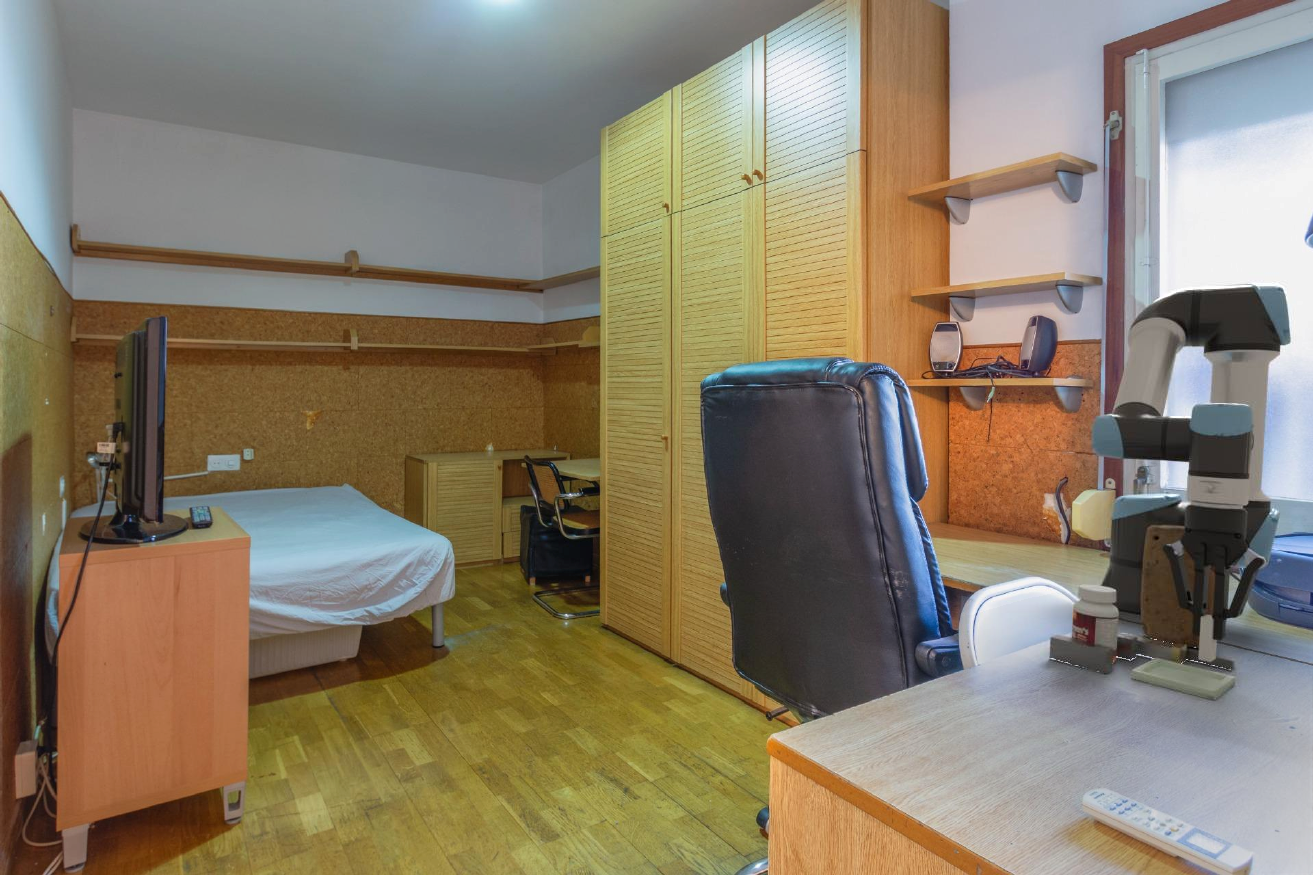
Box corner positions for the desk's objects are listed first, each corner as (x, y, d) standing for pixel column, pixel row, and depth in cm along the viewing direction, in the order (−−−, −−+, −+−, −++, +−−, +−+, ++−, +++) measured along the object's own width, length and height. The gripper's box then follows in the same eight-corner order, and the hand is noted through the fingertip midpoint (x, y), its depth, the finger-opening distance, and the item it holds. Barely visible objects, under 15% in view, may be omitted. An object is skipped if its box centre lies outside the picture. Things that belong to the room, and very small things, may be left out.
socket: (1082, 645, 125) (1083, 624, 125) (1136, 658, 119) (1137, 636, 119) (1049, 659, 117) (1050, 637, 117) (1105, 674, 111) (1106, 650, 111)
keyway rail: (1125, 643, 126) (1125, 635, 126) (1234, 669, 115) (1234, 659, 115) (1122, 645, 126) (1123, 636, 126) (1232, 670, 114) (1232, 661, 114)
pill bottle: (1062, 652, 121) (1065, 583, 120) (1098, 652, 121) (1101, 583, 121) (1087, 665, 114) (1091, 592, 114) (1125, 665, 115) (1129, 592, 115)
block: (1134, 638, 130) (1141, 523, 130) (1149, 630, 135) (1155, 520, 134) (1209, 654, 122) (1217, 533, 121) (1222, 646, 127) (1229, 529, 126)
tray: (1155, 665, 116) (1155, 657, 115) (1234, 684, 108) (1235, 676, 108) (1131, 678, 109) (1131, 670, 109) (1214, 700, 101) (1214, 691, 101)
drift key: (1121, 646, 125) (1122, 630, 125) (1185, 661, 118) (1186, 644, 118) (1114, 650, 122) (1115, 633, 122) (1178, 666, 116) (1179, 648, 115)
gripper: (1157, 501, 116) (1149, 651, 117) (1263, 511, 106) (1253, 676, 107) (1174, 499, 121) (1166, 643, 121) (1277, 509, 110) (1267, 666, 111)
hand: (1207, 658), depth 114 cm, fingers closed
